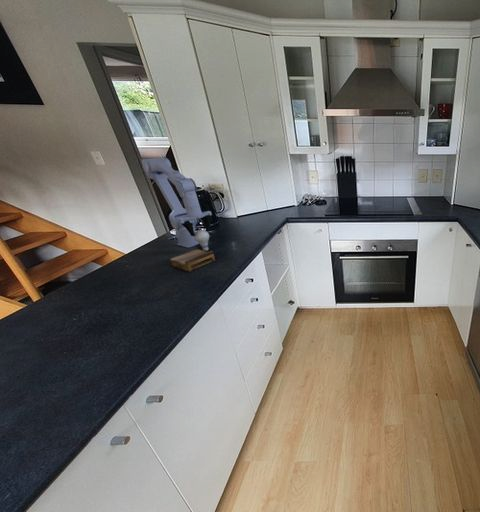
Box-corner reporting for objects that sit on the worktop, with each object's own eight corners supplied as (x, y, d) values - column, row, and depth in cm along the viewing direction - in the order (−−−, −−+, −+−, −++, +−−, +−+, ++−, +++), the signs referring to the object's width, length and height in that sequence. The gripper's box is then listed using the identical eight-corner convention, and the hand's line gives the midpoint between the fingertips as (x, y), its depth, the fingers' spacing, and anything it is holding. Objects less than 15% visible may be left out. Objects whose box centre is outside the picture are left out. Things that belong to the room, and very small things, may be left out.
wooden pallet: (172, 265, 122) (169, 256, 120) (199, 255, 132) (196, 246, 129) (189, 271, 117) (186, 261, 115) (215, 260, 127) (212, 251, 125)
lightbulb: (202, 248, 139) (196, 228, 134) (215, 248, 140) (209, 227, 135) (196, 253, 133) (189, 232, 128) (209, 253, 134) (203, 232, 129)
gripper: (181, 210, 119) (191, 239, 125) (212, 203, 131) (220, 229, 137) (171, 209, 122) (181, 237, 128) (203, 201, 133) (210, 227, 139)
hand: (200, 233), depth 132 cm, fingers open, 7 cm apart
